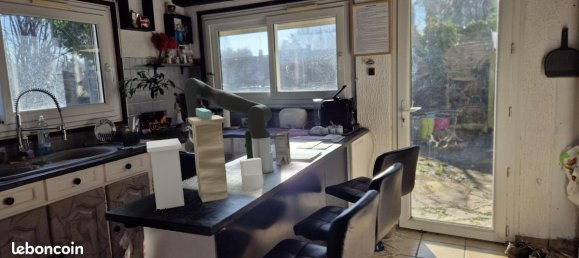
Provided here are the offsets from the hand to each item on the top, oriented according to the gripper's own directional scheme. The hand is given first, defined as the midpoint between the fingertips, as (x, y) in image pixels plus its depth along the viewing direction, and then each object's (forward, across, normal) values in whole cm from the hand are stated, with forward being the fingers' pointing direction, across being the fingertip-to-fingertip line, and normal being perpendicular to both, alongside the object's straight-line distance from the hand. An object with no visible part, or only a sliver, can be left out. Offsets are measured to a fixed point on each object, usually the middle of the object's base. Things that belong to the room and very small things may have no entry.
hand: (199, 118), depth 176 cm
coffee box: (-32, +45, +16) cm, 58 cm away
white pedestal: (+4, -17, +37) cm, 41 cm away
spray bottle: (-50, +35, +6) cm, 61 cm away
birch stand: (+4, 0, +37) cm, 37 cm away
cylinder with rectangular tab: (-1, +18, +34) cm, 39 cm away
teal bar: (+14, 0, +6) cm, 16 cm away
